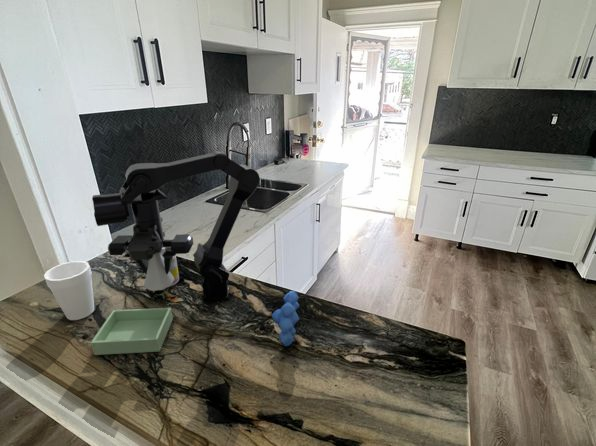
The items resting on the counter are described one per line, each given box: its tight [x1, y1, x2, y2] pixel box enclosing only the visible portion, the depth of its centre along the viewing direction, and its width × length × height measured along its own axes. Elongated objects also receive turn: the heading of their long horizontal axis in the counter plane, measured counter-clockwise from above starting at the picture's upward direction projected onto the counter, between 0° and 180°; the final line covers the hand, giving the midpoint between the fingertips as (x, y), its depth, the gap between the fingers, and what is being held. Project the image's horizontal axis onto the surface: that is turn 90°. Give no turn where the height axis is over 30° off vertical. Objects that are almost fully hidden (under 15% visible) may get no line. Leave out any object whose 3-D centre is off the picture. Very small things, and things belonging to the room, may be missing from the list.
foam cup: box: [43, 260, 95, 321], centre depth 81 cm, size 10×9×13 cm
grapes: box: [271, 290, 300, 347], centre depth 74 cm, size 12×7×12 cm, turn 170°
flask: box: [143, 253, 174, 291], centre depth 80 cm, size 7×7×10 cm
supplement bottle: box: [160, 248, 180, 288], centre depth 95 cm, size 7×7×13 cm
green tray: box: [90, 307, 174, 356], centre depth 75 cm, size 14×11×4 cm
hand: (157, 273), depth 81 cm, fingers closed on flask, 5 cm apart
